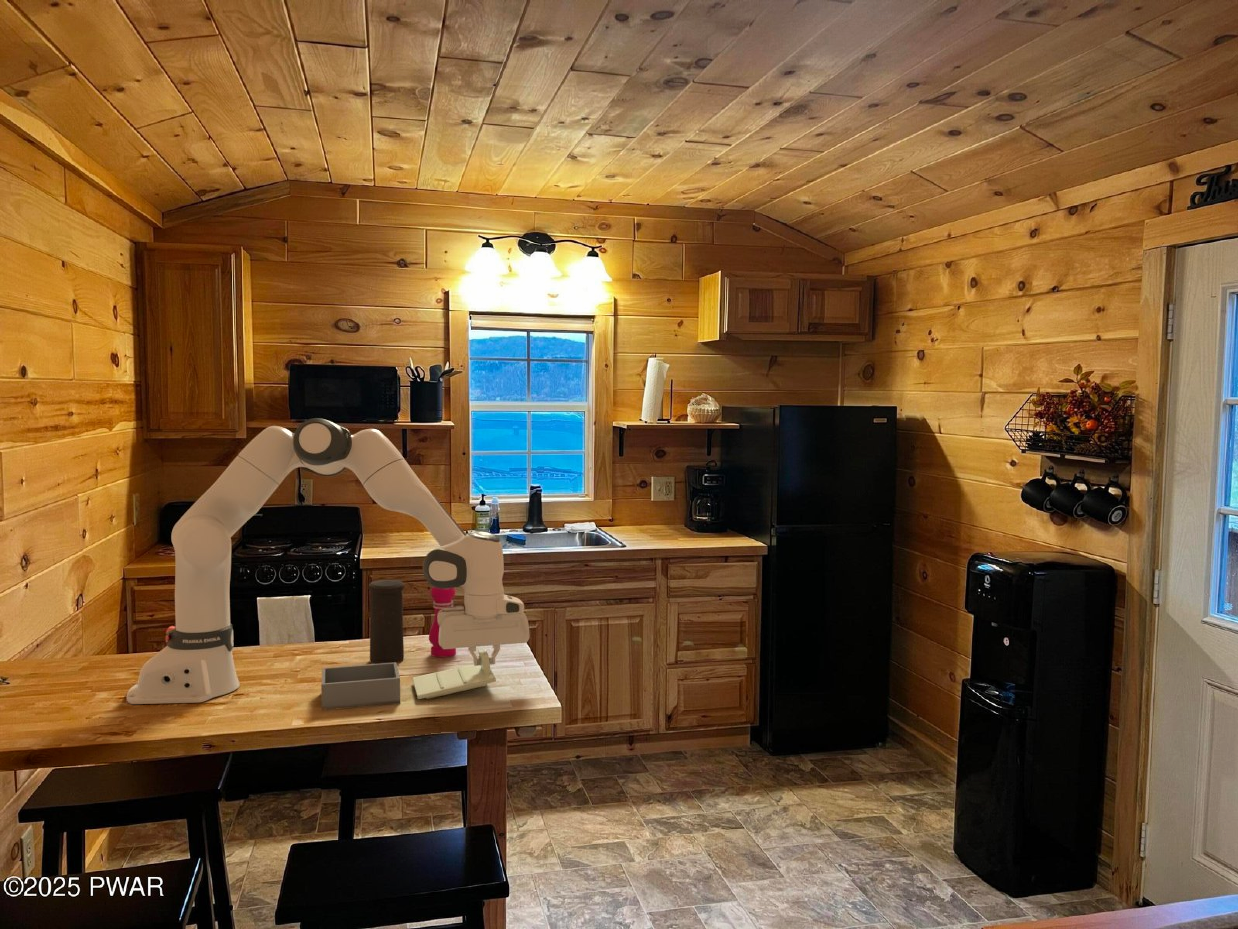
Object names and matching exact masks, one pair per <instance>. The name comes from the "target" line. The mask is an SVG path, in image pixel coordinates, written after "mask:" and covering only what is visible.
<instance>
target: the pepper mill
mask: <svg viewBox="0 0 1238 929" xmlns="http://www.w3.org/2000/svg"><path fill="white" fill-rule="evenodd" d="M455 595H456V589H455V587H454V588H449V589H438V588H435V587H433V586H431V589H430V597H431V598H432V599H433V602H432V604H433V606H432V608H433V609H434V619H433V622H432V625H431V627H430V629H429V633H428V640H429V642H430V644H431V645H432V646H431V647H430V655H431V656H432V657H435V658H436V657H437V658H447V657H452V656H455V655H456V654H457V648H452V649H443V648H442V647H441V646H440V645H439V628H440V626H439V625H438V622H437V615H438V612H439V611H440V610H441V609H444V607H447V606H450V607H454V601H453V598H455ZM442 612H444V610H443V611H442Z"/></svg>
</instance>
